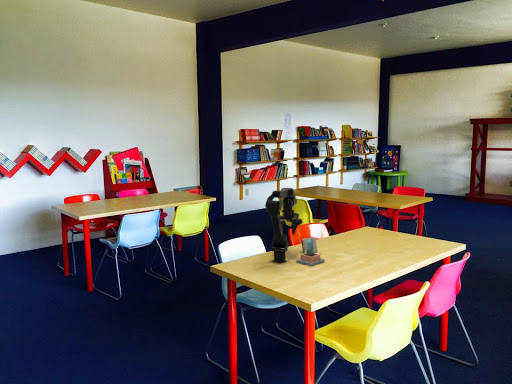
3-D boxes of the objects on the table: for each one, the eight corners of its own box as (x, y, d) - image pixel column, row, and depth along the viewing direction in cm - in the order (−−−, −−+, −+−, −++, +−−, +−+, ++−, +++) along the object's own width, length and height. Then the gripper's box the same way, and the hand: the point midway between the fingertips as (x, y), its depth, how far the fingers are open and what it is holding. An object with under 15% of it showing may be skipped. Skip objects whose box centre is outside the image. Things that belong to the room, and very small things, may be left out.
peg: (308, 260, 251) (308, 240, 249) (305, 258, 255) (305, 238, 253) (314, 260, 252) (314, 239, 250) (312, 258, 256) (312, 238, 254)
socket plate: (311, 266, 245) (311, 258, 245) (296, 262, 253) (296, 254, 253) (324, 261, 254) (324, 254, 253) (309, 258, 261) (309, 250, 261)
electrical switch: (305, 254, 270) (304, 239, 270) (300, 253, 275) (299, 238, 274) (317, 252, 274) (317, 237, 274) (313, 251, 279) (312, 236, 278)
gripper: (308, 208, 265) (308, 234, 267) (284, 205, 278) (285, 229, 280) (296, 211, 257) (296, 237, 259) (272, 207, 270) (272, 232, 272)
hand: (287, 233), depth 268 cm, fingers open, 9 cm apart
